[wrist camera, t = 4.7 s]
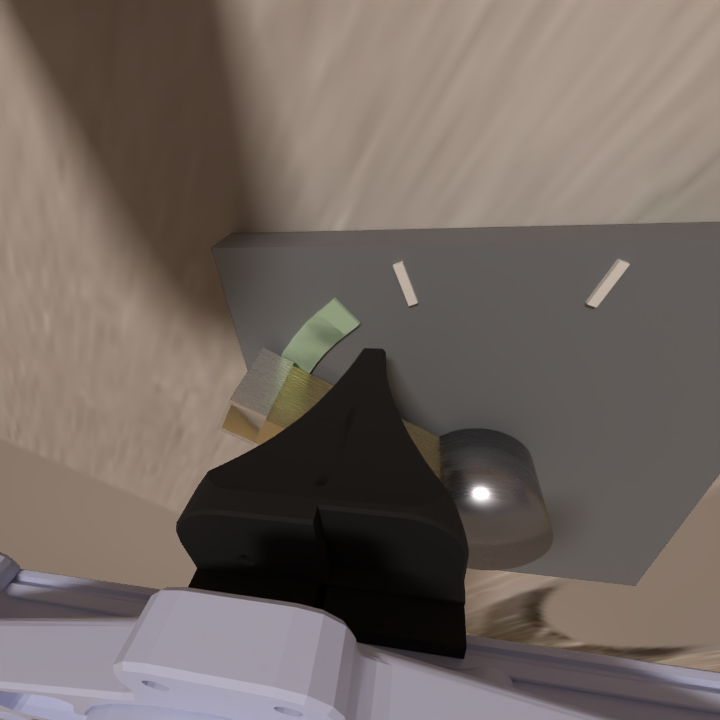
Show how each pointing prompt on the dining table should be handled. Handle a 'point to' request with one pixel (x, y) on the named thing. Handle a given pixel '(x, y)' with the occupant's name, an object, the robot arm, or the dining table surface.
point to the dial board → (521, 356)
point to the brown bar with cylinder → (443, 454)
